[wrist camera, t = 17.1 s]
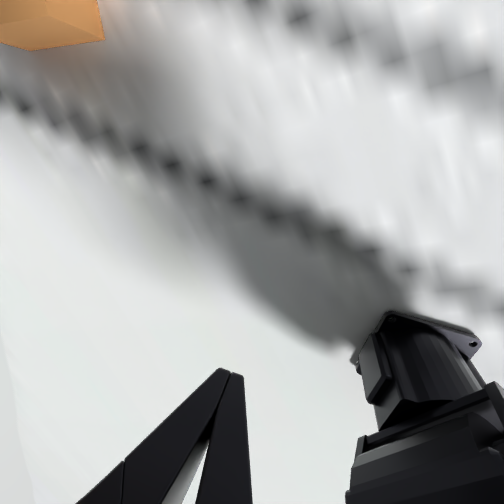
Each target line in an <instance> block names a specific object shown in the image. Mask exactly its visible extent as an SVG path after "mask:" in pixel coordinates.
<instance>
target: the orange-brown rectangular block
mask: <svg viewBox="0 0 504 504" xmlns="http://www.w3.org/2000/svg"><path fill="white" fill-rule="evenodd" d="M101 40H105V37H104V32H103V27H102V23H101V18H100V13H99V9H98V4H97V0H0V43H3V44H7V45H10V46H14V47H17V48H21V49H25V50H28V51H33V50H40V49H47V48H54V47H60V46H67V45H74V44H81V43H88V42H94V41H101Z"/></svg>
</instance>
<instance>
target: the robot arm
mask: <svg viewBox="0 0 504 504" xmlns="http://www.w3.org/2000/svg"><path fill="white" fill-rule="evenodd" d="M390 317H395V318H394V319H389V318H390ZM473 341H474V342H473ZM470 342H473V343H470ZM481 345H482V342H481V341H480V339H479V338H478V337H477V336H475V335H472V334H469V333H466V332H462V331H459V330H456V329H452V328H449V327H446V326H442V325H439V324H435V323H432V322H429V321H425V320H422V319H419V318H415V317H412V316H409V315H405V314H402V313H399V312H395V311H388V312H386V313H385V314H384V316H383V317H382V319H381V321H380V323H379V325H378V326H377V328H376V330H375V332H373V333H371V334H370V335H369V337H368V339H367V341H366V343H365V345H364V346H363V348H362V350H361V352H360V354H359V361H358V363H357V364H356V371H357V373H358V374H360V375H362V379H363V385H364V391H365V396H366V400H367V401H368V403H369V404H372V405H374V410H375V415H376V420H377V425H378V430H379V432H376V433H374V434H372V435H369V436H367V435H364V436H362V437H360V438H358V442H357V448H356V454H355V460H354V464H353V466H352V468H351V479H350V489H349V490H347V491H346V493H345V503H346V504H504V389H503V388H502V387H501V386H500V385H499V384H498V383H496V382H495V381H493V382H491V383H489V384H486V383H485V382H484V380H483V379H482V377H481V376H480V374H479V373H478V371H477V370H476V368H475V367H474V365H473V364H472V362H471V360H470V359H471V358H472V357H473V355H474V354H475V353H476V352H477V351H478V349H479V348H480V347H481ZM208 444H209V445H208ZM207 447H208V449H207ZM206 449H207V454H206V458H205V462H204V467H203V471H202V476H201V480H200V485H199V489H198V493H197V498H196V502H195V504H253V502H252V487H251V473H250V459H249V445H248V431H247V416H246V402H245V388H244V377H243V376H242V375H240V374H237V373H234V372H232V373H231V372H230V371H228V370H226V369H223V368H218V369H217V370H216V371H215V372H214V373H213V374H212V375H211V376H209V377H208V378H207V379H206V380H205V381H204V382H203V383H202V384H201V385H200V386H199V387H198V388H197V389H196V390H195V391H194V392H193V393H192V394H191V395H190V396H189V397H188V398H187V399H186V400H185V401H184V402H183V403H182V404H181V405H179V406H178V407H177V408H176V409H175V410H174V411H173V412H172V413H171V414H170V415H169V416H168V417H167V418H166V419H165V420H164V421H163V422H162V423H161V424H160V425H159V426H158V427H157V428H156V429H155V430H154V431H153V432H152V433H150V434H149V435H148V436H147V437H146V438H145V439H144V440H143V441H142V442H141V443H140V444H139V445H138V446H137V447H136V448H135V449H134V450H133V451H132V452H131V453H130V454H129V455H128V456H127V457H126V458H125V460H124V461H121V462H120V463H119V464H118V465H117V466H116V467H115V468H114V469H113V470H112V471H111V472H110V473H109V474H108V475H107V476H106V477H105V478H104V479H102V480H101V481H100V482H99V483H98V484H97V485H96V486H95V487H94V488H93V489H92V490H90V491H89V492H88V493H87V494H86V495H85V496H84V497H83V498H81V499H80V500H79V501H78V502H77V503H76V504H182V502H183V500H184V497H185V495H186V493H187V491H188V489H189V487H190V484H191V482H192V480H193V478H194V476H195V473H196V471H197V469H198V467H199V465H200V462H201V460H202V458H203V456H204V454H205V451H206Z"/></svg>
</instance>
